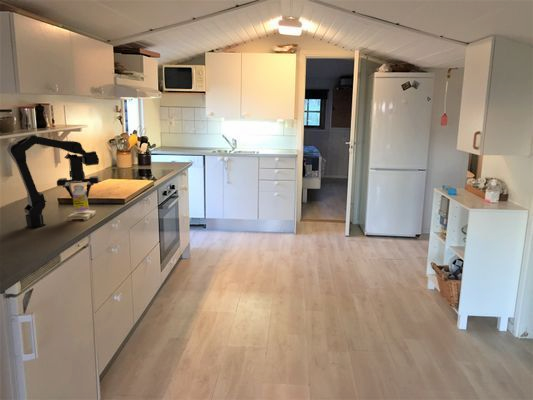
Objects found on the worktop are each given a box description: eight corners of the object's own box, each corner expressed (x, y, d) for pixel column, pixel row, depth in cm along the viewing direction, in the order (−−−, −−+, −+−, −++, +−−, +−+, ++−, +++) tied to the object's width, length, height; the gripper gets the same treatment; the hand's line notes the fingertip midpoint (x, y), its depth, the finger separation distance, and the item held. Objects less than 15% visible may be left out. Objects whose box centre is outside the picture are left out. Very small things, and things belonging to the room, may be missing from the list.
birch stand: (87, 220, 214) (86, 216, 214) (67, 220, 215) (66, 216, 214) (97, 213, 226) (96, 210, 226) (78, 214, 226) (77, 210, 226)
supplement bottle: (72, 212, 217) (68, 187, 214) (78, 209, 223) (74, 184, 220) (85, 212, 216) (82, 186, 213) (91, 209, 223) (88, 184, 220)
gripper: (98, 163, 224) (101, 193, 228) (58, 165, 219) (62, 196, 223) (96, 166, 214) (99, 197, 218) (54, 169, 209) (58, 200, 213)
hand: (80, 198), depth 218 cm, fingers closed on supplement bottle, 6 cm apart
